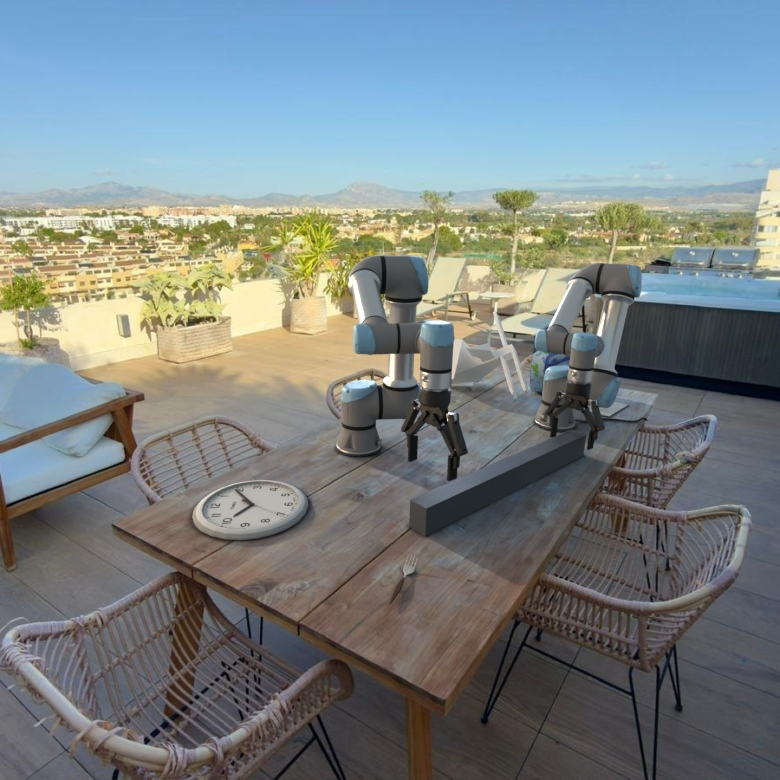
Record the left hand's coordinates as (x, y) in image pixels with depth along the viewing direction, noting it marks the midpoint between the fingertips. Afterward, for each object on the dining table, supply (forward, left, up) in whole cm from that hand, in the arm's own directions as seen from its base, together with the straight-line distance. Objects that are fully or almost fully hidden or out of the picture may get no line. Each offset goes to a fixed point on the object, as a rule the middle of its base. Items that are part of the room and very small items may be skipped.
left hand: (431, 469), depth 129 cm
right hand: (-21, +64, -11) cm, 68 cm away
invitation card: (-56, +113, -16) cm, 127 cm away
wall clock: (-25, -41, -16) cm, 50 cm away
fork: (+18, -16, -16) cm, 29 cm away
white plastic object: (-93, +74, -16) cm, 120 cm away
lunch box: (-84, +108, -16) cm, 137 cm away
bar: (-10, +32, -16) cm, 37 cm away
